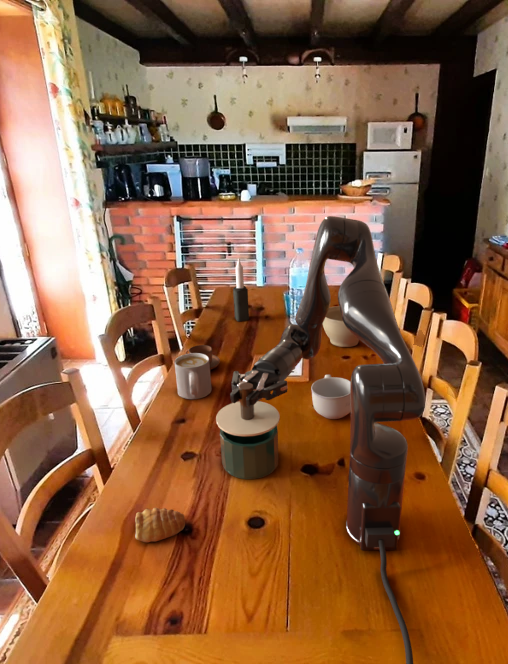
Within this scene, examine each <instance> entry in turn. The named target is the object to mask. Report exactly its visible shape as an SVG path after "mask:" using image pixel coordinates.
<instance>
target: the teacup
mask: <svg viewBox="0 0 508 664" xmlns="http://www.w3.org/2000/svg"><path fill="white" fill-rule="evenodd" d="M350 383H351V380H349V379H348V378H347V379H346V378H344V377H336V376H335V377H334V376H333V377H332V374H325V375H324V377H323V378H320V379H317V380H315V381H314V382H313V383H312V384H311V388H310V389H311V397H312V398H311V399H312V405H313V409H314V411H315V412H316V413H317V414H319V415H320V416H322V417H324V418H325V419H329V420H337V419H338V420H339V419H342V418H344V417H346V416H347V415H348V414H351V400H350Z"/></svg>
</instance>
